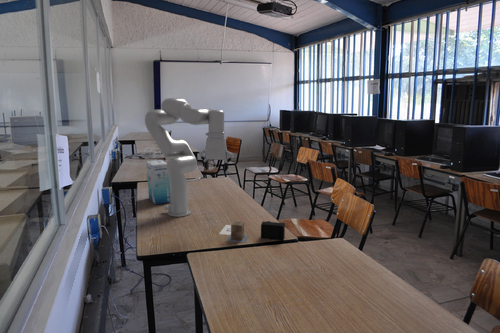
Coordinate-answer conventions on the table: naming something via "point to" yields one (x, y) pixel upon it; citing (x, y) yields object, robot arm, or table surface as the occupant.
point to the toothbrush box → (158, 182)
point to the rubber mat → (238, 240)
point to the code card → (226, 230)
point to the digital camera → (273, 230)
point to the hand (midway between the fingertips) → (216, 170)
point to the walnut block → (237, 230)
